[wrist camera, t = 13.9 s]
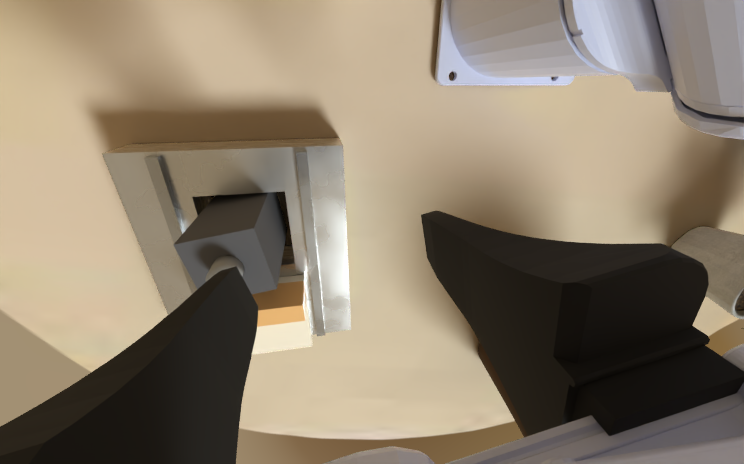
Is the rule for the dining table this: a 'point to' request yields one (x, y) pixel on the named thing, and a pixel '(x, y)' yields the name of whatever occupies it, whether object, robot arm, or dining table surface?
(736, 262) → the house plant
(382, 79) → the dining table surface
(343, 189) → the socket
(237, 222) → the plug
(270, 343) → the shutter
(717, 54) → the robot arm
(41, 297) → the dining table surface
